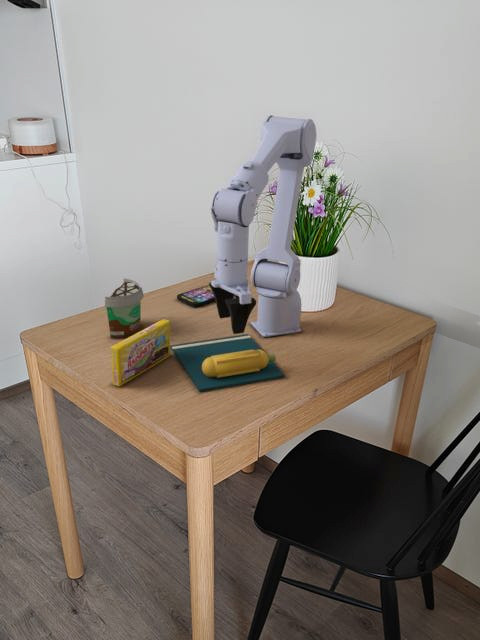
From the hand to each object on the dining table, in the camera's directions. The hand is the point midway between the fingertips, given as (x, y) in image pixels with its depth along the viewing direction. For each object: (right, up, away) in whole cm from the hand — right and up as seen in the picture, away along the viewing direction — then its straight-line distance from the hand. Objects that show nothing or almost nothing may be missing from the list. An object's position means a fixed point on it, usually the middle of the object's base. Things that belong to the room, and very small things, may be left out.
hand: (231, 324), depth 125 cm
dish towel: (-1, -7, +7) cm, 10 cm away
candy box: (-18, -9, +3) cm, 20 cm away
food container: (-23, +1, +18) cm, 29 cm away
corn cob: (+1, -9, +2) cm, 10 cm away
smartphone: (-7, +13, +36) cm, 39 cm away
